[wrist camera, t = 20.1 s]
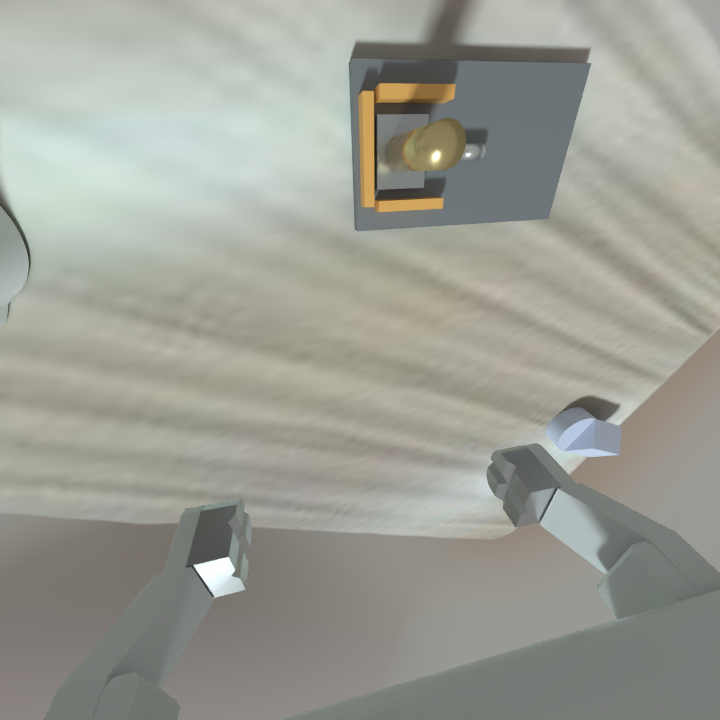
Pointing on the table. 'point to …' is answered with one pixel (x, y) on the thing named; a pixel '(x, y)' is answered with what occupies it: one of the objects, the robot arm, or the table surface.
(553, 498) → the robot arm
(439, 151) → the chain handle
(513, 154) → the rail board
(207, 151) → the table surface
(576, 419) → the wedge on round base
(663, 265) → the table surface
